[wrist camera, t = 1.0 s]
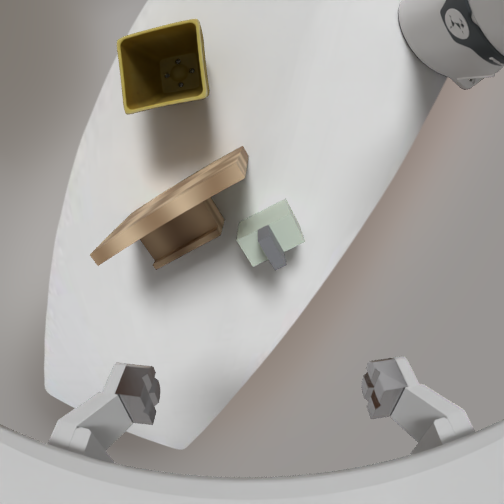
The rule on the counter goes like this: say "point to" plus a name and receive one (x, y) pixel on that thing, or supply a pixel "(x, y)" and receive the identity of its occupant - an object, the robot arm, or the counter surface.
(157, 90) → the flower pot
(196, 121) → the counter surface
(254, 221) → the pale green box
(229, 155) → the wall board
